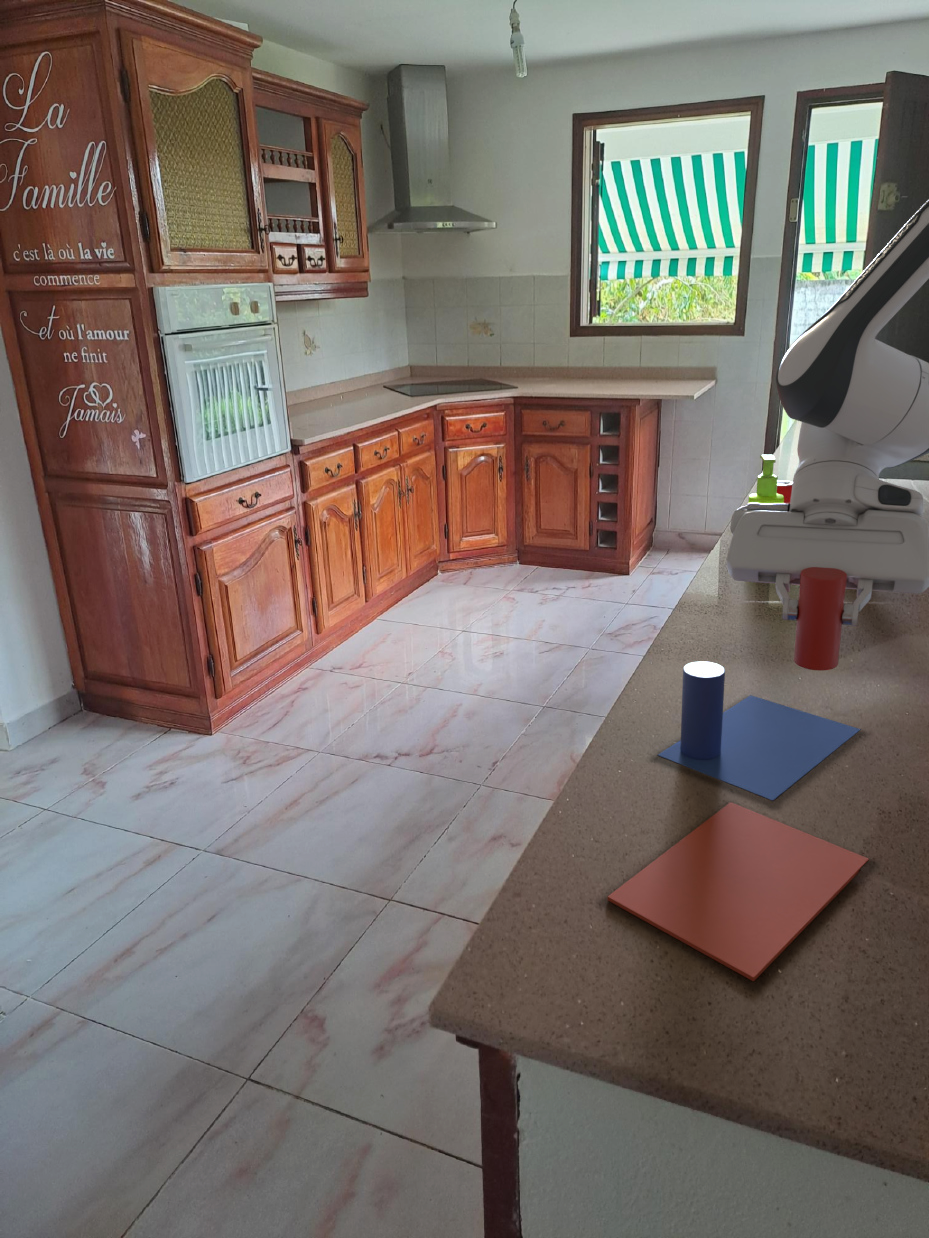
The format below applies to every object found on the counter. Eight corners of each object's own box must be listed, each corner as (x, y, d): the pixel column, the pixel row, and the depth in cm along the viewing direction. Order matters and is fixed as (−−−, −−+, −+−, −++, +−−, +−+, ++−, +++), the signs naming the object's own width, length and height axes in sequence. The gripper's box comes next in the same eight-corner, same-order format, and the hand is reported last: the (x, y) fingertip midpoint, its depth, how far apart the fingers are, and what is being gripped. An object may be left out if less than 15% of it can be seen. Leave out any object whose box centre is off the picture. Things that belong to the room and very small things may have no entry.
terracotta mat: (868, 862, 79) (869, 858, 79) (753, 981, 67) (753, 977, 67) (730, 805, 89) (730, 801, 89) (607, 900, 77) (607, 896, 77)
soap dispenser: (775, 560, 163) (783, 452, 156) (781, 571, 156) (789, 459, 149) (742, 560, 164) (748, 453, 157) (746, 571, 157) (753, 460, 150)
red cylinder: (845, 661, 93) (854, 571, 90) (825, 674, 91) (834, 582, 87) (806, 650, 96) (813, 563, 93) (785, 663, 94) (792, 574, 90)
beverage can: (788, 547, 169) (793, 486, 165) (760, 545, 172) (764, 484, 168) (793, 540, 174) (798, 480, 169) (766, 538, 176) (770, 479, 172)
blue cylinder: (728, 749, 99) (732, 668, 95) (706, 764, 96) (710, 681, 93) (694, 736, 102) (697, 657, 98) (672, 751, 99) (675, 670, 96)
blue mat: (860, 732, 101) (860, 729, 101) (772, 803, 89) (773, 800, 89) (750, 697, 111) (750, 694, 111) (657, 757, 99) (657, 754, 99)
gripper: (732, 487, 98) (714, 599, 93) (940, 494, 89) (932, 617, 85) (736, 516, 103) (719, 623, 98) (932, 525, 95) (924, 642, 90)
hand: (819, 620), depth 91 cm, fingers closed on red cylinder, 4 cm apart
